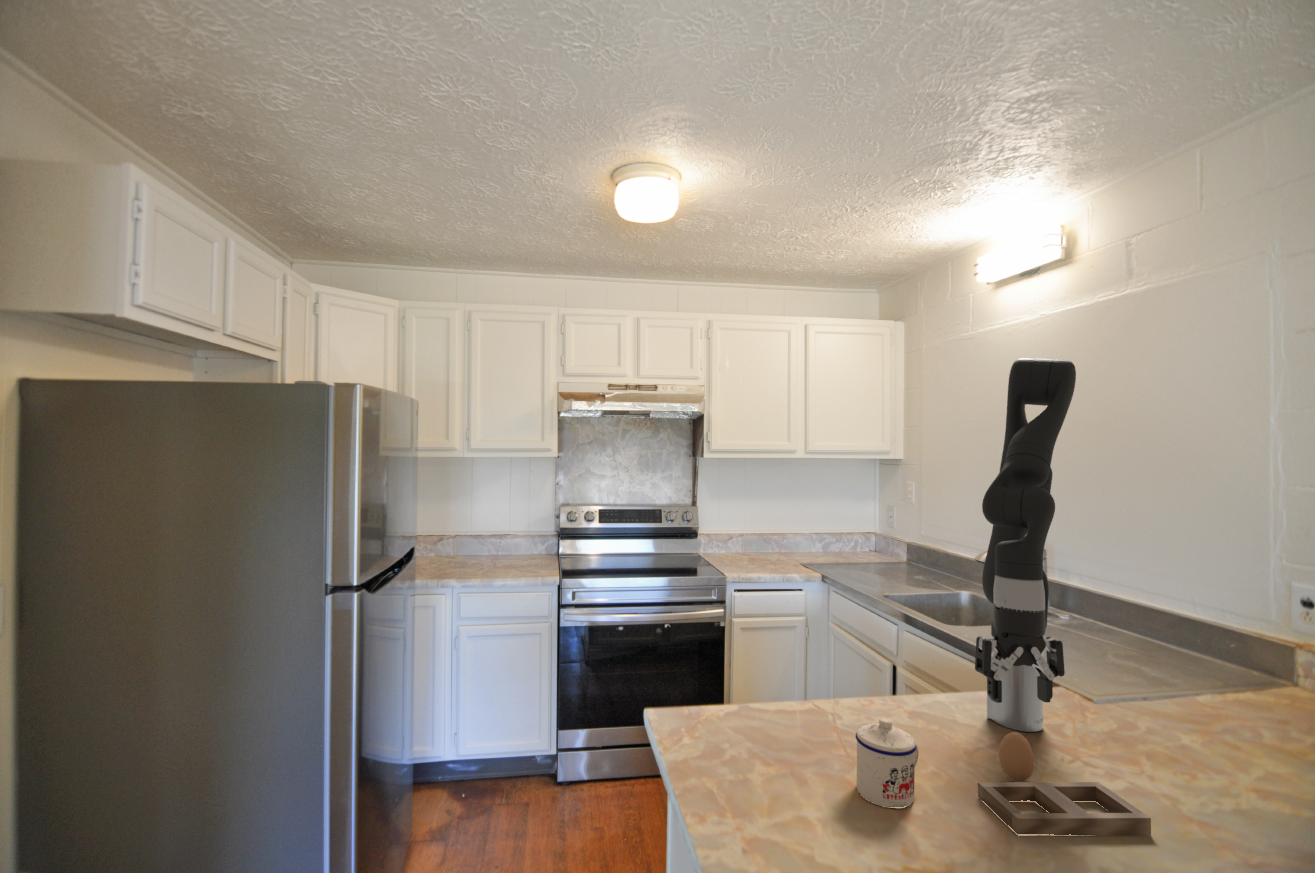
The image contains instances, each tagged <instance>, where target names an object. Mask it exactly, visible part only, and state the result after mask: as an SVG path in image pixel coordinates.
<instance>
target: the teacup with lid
mask: <svg viewBox="0 0 1315 873" xmlns="http://www.w3.org/2000/svg"><path fill="white" fill-rule="evenodd" d="M855 739H856V791H857V792H858V794H859V793H860V794H861V795H862V796H863V797H864V798H865V799H864V798H863V797H862V796H861V795H860V794H859V795H860V796H861V797H862V798H863V799H864V800H866V799H867V800H869V801H870V802H873V803H875V804H877V805H880V806H885V807H904V806H908V805H910V806H912V805H911V803H912V802H913V801H915V769H916V765H917V763H918V761H919V747H918V744H916V741H915V739H914V737H913V736H912V735H910V734H909V733H908V732H906V731H905V730H903V729H901V728H898V727H897V726H896V725H895V726H894V725H893V722H892V720H891V719H889V718H887V717H883V718H881V717H880V719H879V721H878V722H877V723H869V724H864V725H862V726H860V727H859V728H858V729H857V730H856V732H855ZM867 800H866V801H867ZM869 801H868V802H869ZM870 802H869V803H870ZM913 803H914V802H913ZM875 804H874V805H875ZM877 805H876V806H877ZM880 806H879V807H880Z"/></svg>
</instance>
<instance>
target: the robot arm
mask: <svg viewBox="0 0 1315 873" xmlns="http://www.w3.org/2000/svg"><path fill="white" fill-rule="evenodd" d="M1076 380H1077V371H1076V366H1075V364H1074V363H1073V362H1072V361H1070V360H1069V359H1059V358H1058V359H1056V358H1055V359H1053V358H1017V359H1016V360H1015V361H1013V363H1012V365H1011V368H1010V371H1009V375H1008V385H1007V400H1006V403H1007V404H1006V418H1005V420H1006V421H1005V434H1004V440H1003V449H1002V454H1001V460H1000V466H999V473H998V474H997V475H996V477H995V478H994V480H993V481H992V482H991V484H990V485H989V486H988V488H987V490H986V491H985V494H984V496H983V499H982V505H981V508H982V510H981V511H982V514H983V516H984V518H985V519H986V521H987V522H989V524H991V525H992V529H991V534H990V535H991V536H990V540H989V544H988V547H987V551H986V555H985V559H984V560H985V561H984V565H983V569H982V578H981V580H982V581H981V583H982V590H983V593H984V596H985V598H986V599H987V600H988V602H990V603H991V604H993V621H992V623H991V627H990V633H991V634H990V635H991V638H986V637H982V636H977V637H976V640H975V658H974V659H975V660H974V661H975V662H974V670H975V671H976V672H978V673H979V674H981V675H983V676H984V677H986V718H987V719H990V720H992V721H993V722H994V723H997V724H999V725H1001V726H1003V727H1004V728H1008V729H1010V730H1011V729H1012V730H1015V731H1019V732H1026V733H1028V732H1029V733H1034V732H1036V733H1037V732H1040V731H1042V730H1043V729H1044V727H1043V725H1044V703H1051V699H1052V698H1053V694H1054V693H1053V688H1054V687H1053V681H1054V680H1055V678H1056V677H1064V675H1065V673H1066V672H1065V659H1064V657H1065V656H1064V645H1063V642H1062V640H1060V639H1057V638H1054V637H1052V636H1046V638H1044V636H1045V635H1046V630H1047V627H1048V612H1049V611H1048V610H1049V599H1050V598H1049V597H1050V596H1049V595H1050V590H1049V589H1050V588H1049V581H1048V577H1047V574H1046V572H1045V570H1044V564H1043V563H1044V549H1045V545H1046V540H1047V537H1048V533H1049V530H1050V527H1051V525H1052V523H1053V519H1054V516H1055V512H1056V502H1055V499H1054V497H1053V495H1052V493H1051V489H1052V482H1053V469H1052V467H1051V464H1052V459H1053V455H1054V454H1053V453H1054V449H1055V446H1056V442H1057V440H1058V437H1059V434H1060V431H1061V430H1062V427H1063V424H1064V421H1065V419H1066V416H1067V414H1068V410H1069V408H1070V406H1071V403H1072V399H1073V396H1074V392H1075V388H1076V387H1075V386H1076ZM1026 405H1031V406H1044V407H1045V406H1046V407H1045V409H1044V410H1042V412H1041V413H1040V414H1038V415H1037V416H1035V417H1034V418H1033V419H1032V420H1030V421H1029V422H1028V420H1027V414H1026ZM1044 651H1046V653H1045V654H1046V659H1045V658H1044Z"/></svg>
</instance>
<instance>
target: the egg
mask: <svg viewBox="0 0 1315 873" xmlns="http://www.w3.org/2000/svg"><path fill="white" fill-rule="evenodd" d="M998 761H999V764H1000V767H1001V768H1002V771H1003V772H1004V774H1005V775H1006V776H1007V777H1008V778H1009V779H1010V780H1012V781H1013V782H1016V781H1017V782H1027V780H1029V779H1030V777H1032V775H1033V773H1034V770H1035V754H1034V752H1033V749H1032V747H1031V744H1030V743H1029V741H1028V739H1027V738H1026V737H1025V736H1023V734H1021V733H1020V732H1017V731H1012V732H1008V733H1007V734H1006V735H1004V737H1003V738H1002V740H1001V742H1000V745H999V747H998Z"/></svg>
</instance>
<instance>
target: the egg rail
mask: <svg viewBox="0 0 1315 873" xmlns="http://www.w3.org/2000/svg"><path fill="white" fill-rule="evenodd" d="M978 797H979V798H980V799H981V800H982V801H984V802H985V803H986V804H987V805H988V806H989V807H990V808H991V809H992V810H993V811H994V812H995V813H996V814H997V815H998V816H999V817H1000V818H1001V819H1002V820H1003V821H1004V822H1005V823H1006V824H1007V825H1009V826H1010V827H1011V828H1012V829H1013V830H1014V831H1015V832H1016V833H1017V834H1049V835H1050V834H1054V835H1069V834H1071V835H1096V836H1095V837H1142V836H1145V837H1147V836H1148V837H1151V836H1152V817H1150V816H1149V815H1148V814H1146V813H1144V812H1143V811H1142V810H1140V809H1139V808H1137V807H1135V806H1134V805H1132V804H1131V803H1129V801H1126V800H1125V799H1124V798H1123V797H1121V796H1119V795H1118V794H1116V793H1115V792H1114V791H1112V790H1110V788H1108V787H1106V786H1105V785H1103V784H1102V783H1100V782H1099V781H1067V782H1066V781H1062V782H1061V781H1049V782H1048V781H1043V782H1042V781H1037V782H1036V781H1034V782H1033V781H1030V782H1029V781H1023V782H1016V781H1013V782H1012V781H1011V782H1010V781H1009V782H1008V781H1006V782H1005V781H999V782H998V781H996V782H995V781H994V782H993V781H990V782H989V781H988V782H986V781H983V782H982V781H978V782H977V798H978ZM1021 800H1023V801H1027V800H1030V801H1036V802H1037V803H1038V804H1039V805H1040V806H1042V807H1043V808H1044V809H1045V810H1047V811H1048V812H1049V813H1046V812H1045V813H1044V812H1035V813H1034V812H1033V813H1032V812H1030V813H1029V812H1028V813H1027V812H1026V813H1022V812H1021V811H1020V810H1019V809H1018V808H1016V806H1014V804H1013V803H1010V802H1009V801H1021ZM1073 801H1096V802H1098V803H1099V804H1100V805H1101V806H1103V807H1104V808H1105V809H1107V810H1108V811H1109V812H1110V813H1109V812H1108V811H1107V812H1087V810H1085V809H1084V808H1082V807H1081V806H1080V805H1078V804H1077V803H1074V802H1073ZM1100 805H1099V806H1100ZM1101 806H1100V807H1101ZM1104 808H1103V809H1104ZM1105 809H1104V810H1105Z"/></svg>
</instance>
